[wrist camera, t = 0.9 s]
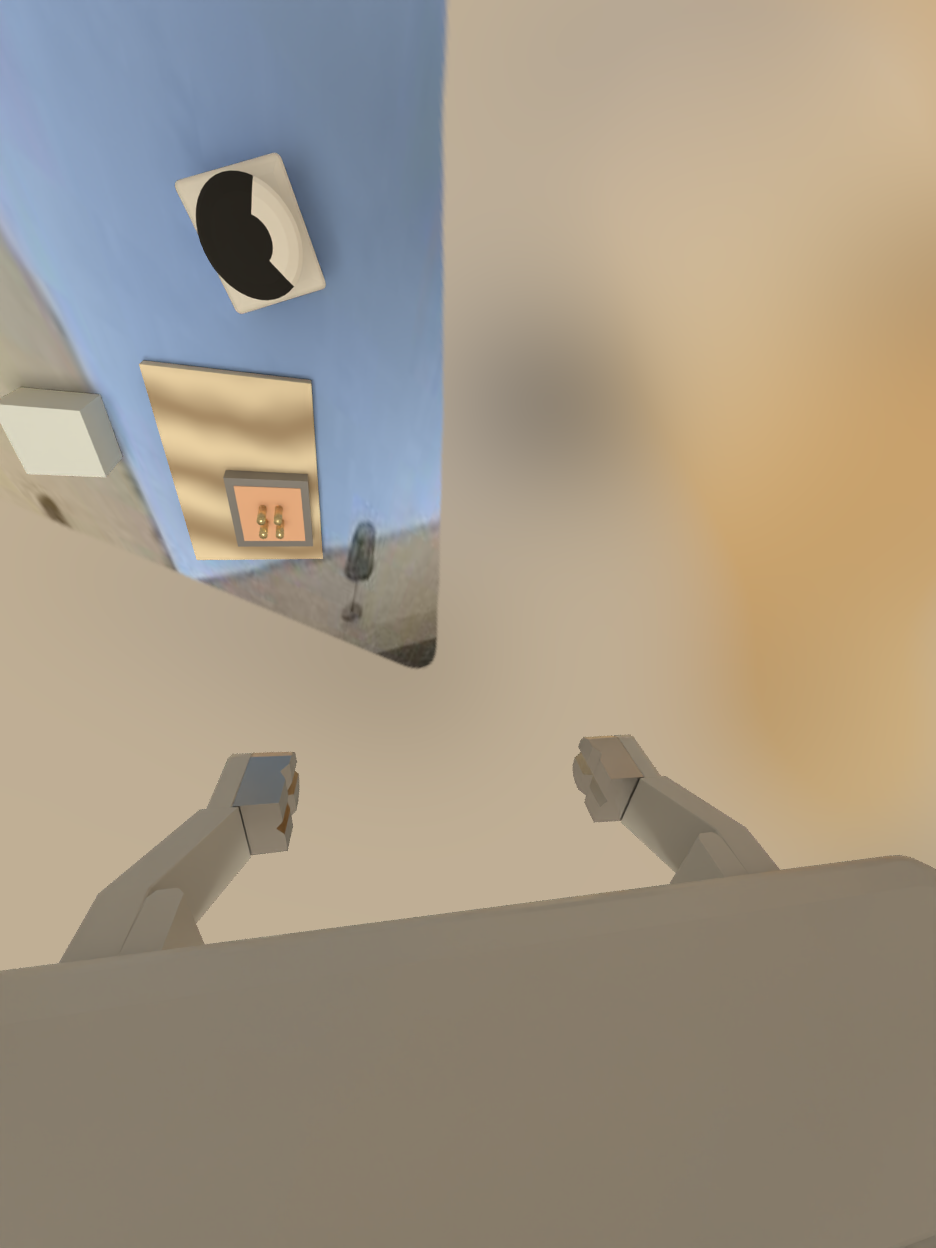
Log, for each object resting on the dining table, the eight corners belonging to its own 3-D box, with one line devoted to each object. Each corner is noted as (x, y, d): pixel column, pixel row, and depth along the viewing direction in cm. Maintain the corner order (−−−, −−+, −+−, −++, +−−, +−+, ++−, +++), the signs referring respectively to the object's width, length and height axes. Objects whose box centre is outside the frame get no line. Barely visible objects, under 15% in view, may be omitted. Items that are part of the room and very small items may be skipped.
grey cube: (20, 387, 36) (-10, 403, 32) (100, 394, 38) (79, 411, 34) (51, 452, 40) (27, 473, 36) (122, 456, 41) (106, 477, 38)
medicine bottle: (246, 304, 37) (230, 325, 28) (191, 189, 31) (151, 173, 23) (324, 280, 37) (330, 294, 29) (282, 163, 32) (275, 138, 23)
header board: (143, 360, 37) (121, 378, 32) (311, 380, 42) (312, 398, 37) (199, 553, 50) (188, 585, 45) (322, 552, 54) (324, 581, 50)
